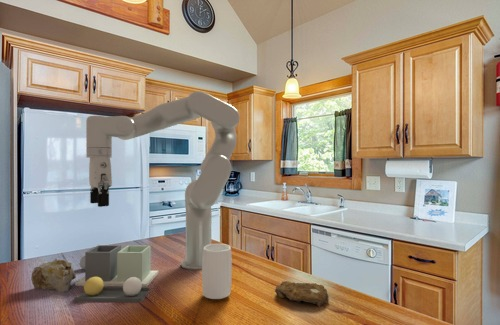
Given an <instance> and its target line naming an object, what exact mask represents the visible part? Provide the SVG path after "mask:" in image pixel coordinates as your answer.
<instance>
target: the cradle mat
mask: <svg viewBox="0 0 500 325" xmlns="http://www.w3.org/2000/svg"><path fill="white" fill-rule="evenodd" d="M151 291H152V288H150V287H149V286H142V288H141V290H140V292H139V293H138V294H136V295H134V296H128V295H126V294H125V293H124V291H123V286H104V287H103V289H102V291H101V292H100V293H99V294H97V295H94V296H90V295H87V294H86V293H85V291H84V290H83V292H82V293H80V294H79V295H78V296H74V298H73V300H71V301H70V302H72V303H73V302H74V303H75V302H79V303H80V302H81V303H83V302H84V303H85V302H86V303H87V302H88V303H89V302H91V303H92V302H93V303H142V302H143V301H144V299H145V298H146V297H147V296H148V294H149V293H150V292H151Z"/></svg>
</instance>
